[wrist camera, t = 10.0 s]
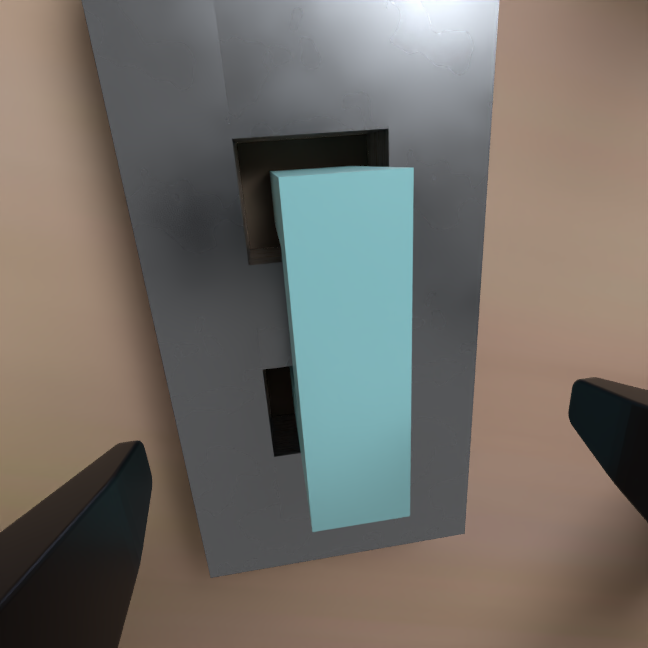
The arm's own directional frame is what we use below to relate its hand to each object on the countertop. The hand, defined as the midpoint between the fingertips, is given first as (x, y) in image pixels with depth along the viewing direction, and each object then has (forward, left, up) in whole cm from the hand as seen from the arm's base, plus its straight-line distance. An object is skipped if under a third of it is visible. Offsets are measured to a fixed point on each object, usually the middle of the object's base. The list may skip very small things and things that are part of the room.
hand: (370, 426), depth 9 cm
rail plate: (0, 0, -10) cm, 10 cm away
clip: (0, 0, -11) cm, 11 cm away
